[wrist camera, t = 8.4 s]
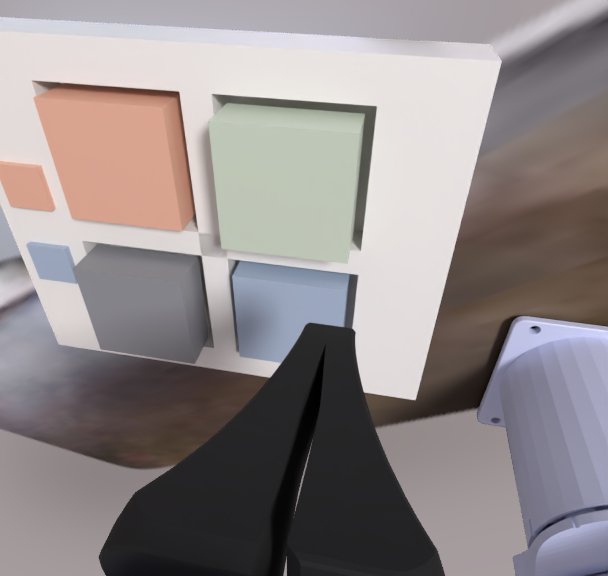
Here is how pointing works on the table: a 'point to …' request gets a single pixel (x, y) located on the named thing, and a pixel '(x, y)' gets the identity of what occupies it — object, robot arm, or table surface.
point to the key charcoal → (144, 302)
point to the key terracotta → (119, 154)
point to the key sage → (286, 180)
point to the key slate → (284, 306)
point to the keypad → (205, 225)
